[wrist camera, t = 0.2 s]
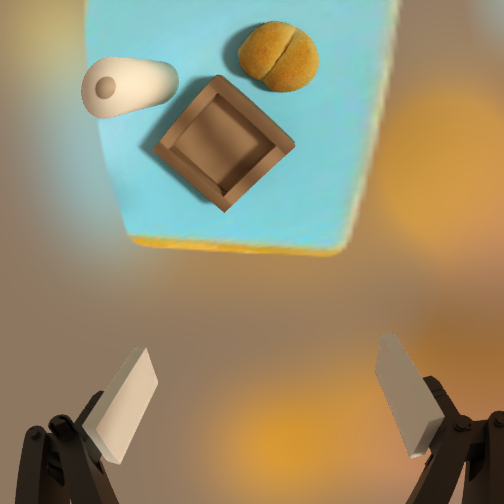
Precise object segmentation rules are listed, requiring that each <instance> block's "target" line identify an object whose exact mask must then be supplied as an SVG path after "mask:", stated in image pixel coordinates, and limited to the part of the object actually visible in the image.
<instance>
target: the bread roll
mask: <svg viewBox="0 0 504 504" xmlns="http://www.w3.org/2000/svg"><path fill="white" fill-rule="evenodd" d="M238 54H239V62H240V65H241V67H242V68H243V70H244V71H245V72H246V73H247V74H248V75H249V76H251V77H252V78H255V79H257V80H261V81H263V82H264V83H265V84H266V85H267V87H269V88H270V89H271V90H273V91H275V92H281V93H283V92H291V91H295V90H298V89H300V88H302V87H304V86H306V85H307V84H309V83H310V82H311V81H312V80H313V78H314V77H315V75H316V73H317V70H318V66H319V55H318V51H317V48H316V46H315V44H314V43H313V41H312V39H311V38H310V37H309V36H308V35H307V34H306V33H305V32H303V31H302V30H300V29H298V28H296V27H294V26H292V25H290V24H287V23H283V22H278V21H270V22H267V23H265V24H263V25H261V26H259V27H257V28H256V29H255V30H253V32H251V34H250V35H249V36H248V37H247V39H246V40H245V41H244V42H243V44H242V45H241V46H240V48H239V49H238Z"/></svg>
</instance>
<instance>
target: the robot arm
mask: <svg viewBox="0 0 504 504" xmlns="http://www.w3.org/2000/svg"><path fill="white" fill-rule="evenodd" d="M375 374H376V376H377V378H378V381H379V383H380V385H381V387H382V390H383V392H384V394H385V397H386V399H387V402H388V404H389V406H390V409H391V411H392V414H393V416H394V418H395V421H396V424H397V426H398V429H399V431H400V434H401V436H402V439H403V441H404V444H405V446H406V449H407V451H408V454H409V457H410V459H411V458H414V457H417V456H421V455H424V454H425V453H426V451H427V449H428V448H430V450H431V452H432V453H431V455H430V457H429V458H428V460H427V462H426V463H425V465H426V466H425V468H424V470H423V472H422V474H421V476H420V478H419V480H418V482H417V484H416V486H415V488H414V490H413V491H412V493H411V495H410V497H409V499H408V500H407V502H406V504H448V503H449V501H450V498H451V496H452V494H453V492H454V489H455V487H456V484H457V481H458V479H459V476H460V473H461V471H462V468H463V465H464V462H466V471H465V481H464V490H463V498H462V504H504V411H495V412H493V413H492V414H491V415H490V417H489V419H488V420H480V421H472V420H471V419H470V418H469V417H467V416H465V415H460V414H459V412H458V410H457V409H456V407H455V406H454V404H453V402H452V401H451V399H450V398H449V396H448V395H447V393H446V392H445V390H444V389H443V387H442V385H441V384H440V382H439V381H438V380H437V379H435V378H434V377H432V376H428V377H424V378H422V377H421V375H420V373H419V372H418V370H417V369H416V367H415V365H414V364H413V362H412V361H411V359H410V357H409V356H408V355H407V353H406V351H405V350H404V348H403V346H402V345H401V343H400V342H399V340H398V339H397V337H396V336H395V334H394V333H387V334H381V337H380V344H379V351H378V358H377V364H376V369H375ZM157 385H158V381H157V378H156V375H155V372H154V369H153V367H152V364H151V361H150V358H149V355H148V352H147V349H146V347H134V349H133V350H132V352H131V353H130V355H129V356H128V358H127V359H126V360H125V362H124V364H123V365H122V366H121V368H120V369H119V371H118V372H117V374H116V375H115V376H114V378H113V379H112V381H111V382H110V384H109V385H108V387H107V388H106V390H105V391H99V392H97V393H96V394H95V395H93V396H92V398H91V399H90V401H89V403H88V404H87V405H86V407H85V409H84V410H83V411H82V412H81V414H80V415H79V417H78V419H77V420H76V421H75V423H73V422H72V420H71V419H70V417H68V416H67V415H63V414H62V415H57V416H55V417H53V418H52V419H51V420H50V422H49V425H48V427H49V429H50V430H51V432H52V433H47V432H46V431H45V430H44V428H43V427H41V426H33V427H31V428H29V429H28V431H27V432H26V434H25V439H24V443H23V448H22V454H21V460H20V465H19V472H18V479H17V488H16V498H15V504H70V499H71V503H72V504H119V502H118V501H117V498H116V496H115V494H114V491H113V489H112V487H111V484H110V482H109V479H108V477H107V474H106V472H105V469H104V467H103V464H102V462H101V461H100V457H101V455H103V456H104V458H105V459H106V460H107V461H109V462H113V463H117V464H120V463H121V461H122V459H123V457H124V455H125V452H126V450H127V448H128V446H129V444H130V442H131V439H132V437H133V435H134V433H135V431H136V429H137V427H138V424H139V422H140V420H141V418H142V416H143V414H144V412H145V409H146V408H147V405H148V403H149V401H150V399H151V397H152V395H153V393H154V391H155V389H156V387H157Z"/></svg>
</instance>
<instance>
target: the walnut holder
mask: <svg viewBox="0 0 504 504" xmlns="http://www.w3.org/2000/svg"><path fill="white" fill-rule="evenodd" d="M294 147H295V142H294V141H293V140H292V139H291V138H290V137H289V136H288V135H287V134H286V133H285V132H284V131H283V130H282V129H281V128H280V127H279V126H278V125H277V124H276V123H275V122H274V121H273V120H272V119H271V118H270V117H269V116H268V115H267V114H265V113H264V112H263V111H262V110H261V109H260V108H259V107H258V106H257V105H256V104H255V103H254V102H252V101H251V100H250V99H249V98H248V97H247V96H246V95H245V94H243V93H242V92H241V91H240V90H239V89H238V88H237V87H235V86H234V85H233V84H232V83H231V82H230V81H228V80H227V79H226V78H225V77H224V76H222V75H216V76H215V77H214V78H213V79H212V80H211V81H210V82H209V84H208V85H207V86H206V87H205V88H204V89H203V90H202V91H201V92H200V93H199V94H198V96H197V97H196V98H195V99H194V100H193V101H192V102H191V104H190V105H189V106H188V107H187V108H186V109H185V110H184V112H183V113H182V114H181V115H180V116H179V118H178V119H177V120H176V121H175V122H174V124H173V125H172V126H171V127H170V129H169V130H168V131H167V132H166V134H165V135H164V136H163V138H162V139H161V140H160V141H159V143H158V144H157V145H156V147H155V148H154V149H153V151H154V152H155V153H156V154H157V155H158V156H159V157H161V158H162V159H163V160H164V161H165V162H166V163H168V164H169V165H170V166H171V167H172V168H173V169H175V170H176V171H177V172H178V173H179V174H180V175H181V176H183V177H184V178H185V179H186V180H187V181H188V182H190V183H191V184H192V185H193V186H194V187H195V188H196V189H198V190H199V191H200V192H201V193H202V194H203V195H204V196H206V197H207V198H208V199H209V200H210V201H211V202H213V203H214V204H215V205H216V206H217V207H218V208H219V209H221V210H222V211H223V212H224V213H225V212H226V211H227V210H228V209H229V208H230V207H231V206H232V205H233V204H234V203H235V202H236V201H237V200H238V199H239V198H240V197H241V196H242V195H244V194H245V193H246V192H247V191H248V190H249V189H250V188H251V187H252V186H253V185H254V184H255V183H256V182H257V181H258V180H259V179H261V178H262V177H263V176H264V175H265V174H266V173H267V172H268V171H269V170H270V169H271V168H272V167H274V166H275V165H276V164H277V163H278V162H279V161H280V160H281V159H282V158H283V157H284V156H286V155H287V154H288V153H289V152H290V151H291V150H292V149H293V148H294Z"/></svg>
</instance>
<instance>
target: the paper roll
mask: <svg viewBox="0 0 504 504" xmlns="http://www.w3.org/2000/svg"><path fill="white" fill-rule="evenodd" d="M178 86H179V76H178V73H177V71H176V69H175V68H174V67H173V66H172V65H170V64H168V63H166V62H161V61H153V60H144V59H133V58H120V57H107V58H103V59H101V60H99V61H97V62H96V63H94V64H93V65H92V66H91V67H90V69H89V70H88V71H87V73H86V75H85V77H84V80H83V83H82V90H81V93H82V100H83V103H84V105H85V107H86V109H87V110H88V111H89V112H90V113H91V114H92V115H94V116H96V117H98V118H111V117H114V116H118V115H121V114H125V113H128V112H132V111H136V110H140V109H144V108H148V107H152V106H157V105H161V104H164V103H166V102H168V101H169V100H170V99H172V97H173V96H174V95H175V94H176V92H177V89H178Z"/></svg>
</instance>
